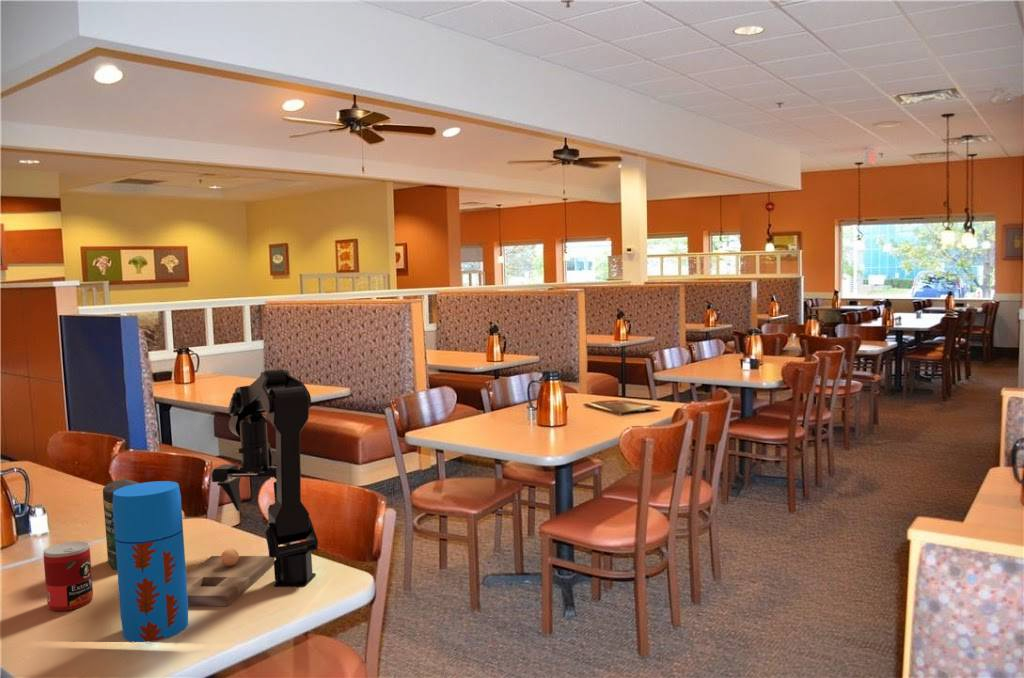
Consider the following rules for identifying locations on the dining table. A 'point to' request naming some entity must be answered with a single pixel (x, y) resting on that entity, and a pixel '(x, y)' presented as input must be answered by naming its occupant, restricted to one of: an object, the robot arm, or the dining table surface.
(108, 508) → the coffee jar
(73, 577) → the canned food
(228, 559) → the ball
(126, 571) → the thermos
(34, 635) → the dining table surface
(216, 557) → the board
